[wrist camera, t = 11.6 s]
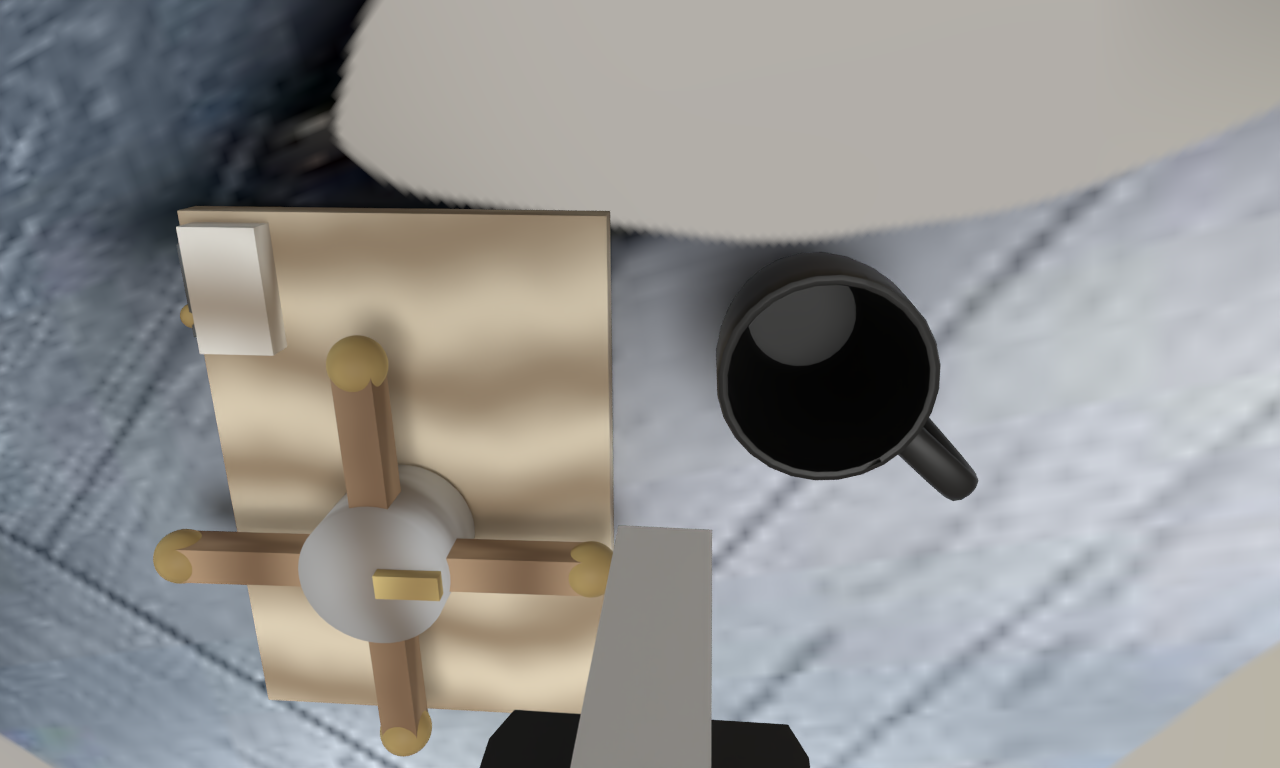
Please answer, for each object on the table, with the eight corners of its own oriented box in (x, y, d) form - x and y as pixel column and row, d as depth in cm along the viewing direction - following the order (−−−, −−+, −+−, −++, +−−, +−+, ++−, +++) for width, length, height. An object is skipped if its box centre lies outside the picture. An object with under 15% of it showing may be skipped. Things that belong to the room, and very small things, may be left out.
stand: (191, 205, 40) (154, 215, 38) (610, 210, 39) (602, 221, 36) (277, 681, 50) (253, 716, 47) (615, 699, 49) (610, 736, 46)
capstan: (236, 693, 48) (179, 768, 43) (154, 312, 41) (72, 347, 35) (628, 711, 47) (619, 791, 41) (621, 317, 39) (607, 354, 34)
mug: (854, 473, 43) (893, 578, 34) (679, 319, 41) (671, 387, 32) (981, 360, 40) (1058, 442, 31) (801, 189, 38) (829, 225, 29)
